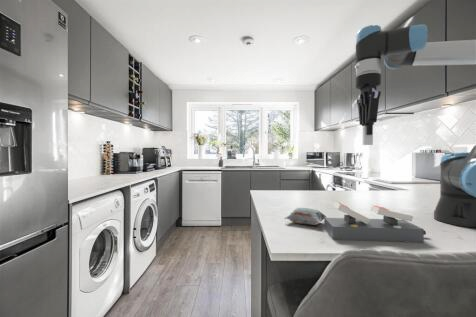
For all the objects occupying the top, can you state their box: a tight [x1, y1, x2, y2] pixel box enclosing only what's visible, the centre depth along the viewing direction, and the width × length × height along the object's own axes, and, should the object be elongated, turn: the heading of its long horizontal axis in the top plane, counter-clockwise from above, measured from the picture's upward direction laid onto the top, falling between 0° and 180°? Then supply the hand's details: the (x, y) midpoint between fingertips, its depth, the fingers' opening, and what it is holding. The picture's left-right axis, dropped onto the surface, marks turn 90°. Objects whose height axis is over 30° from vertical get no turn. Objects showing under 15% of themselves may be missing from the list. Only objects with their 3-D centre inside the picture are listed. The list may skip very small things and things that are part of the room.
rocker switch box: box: [323, 214, 427, 243], centre depth 67 cm, size 26×9×5 cm, turn 83°
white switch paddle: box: [332, 201, 371, 224], centre depth 68 cm, size 9×4×2 cm, turn 84°
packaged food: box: [284, 207, 327, 226], centre depth 80 cm, size 9×12×5 cm
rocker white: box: [370, 204, 414, 223], centre depth 67 cm, size 9×4×2 cm, turn 84°
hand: (367, 144), depth 80 cm, fingers closed
